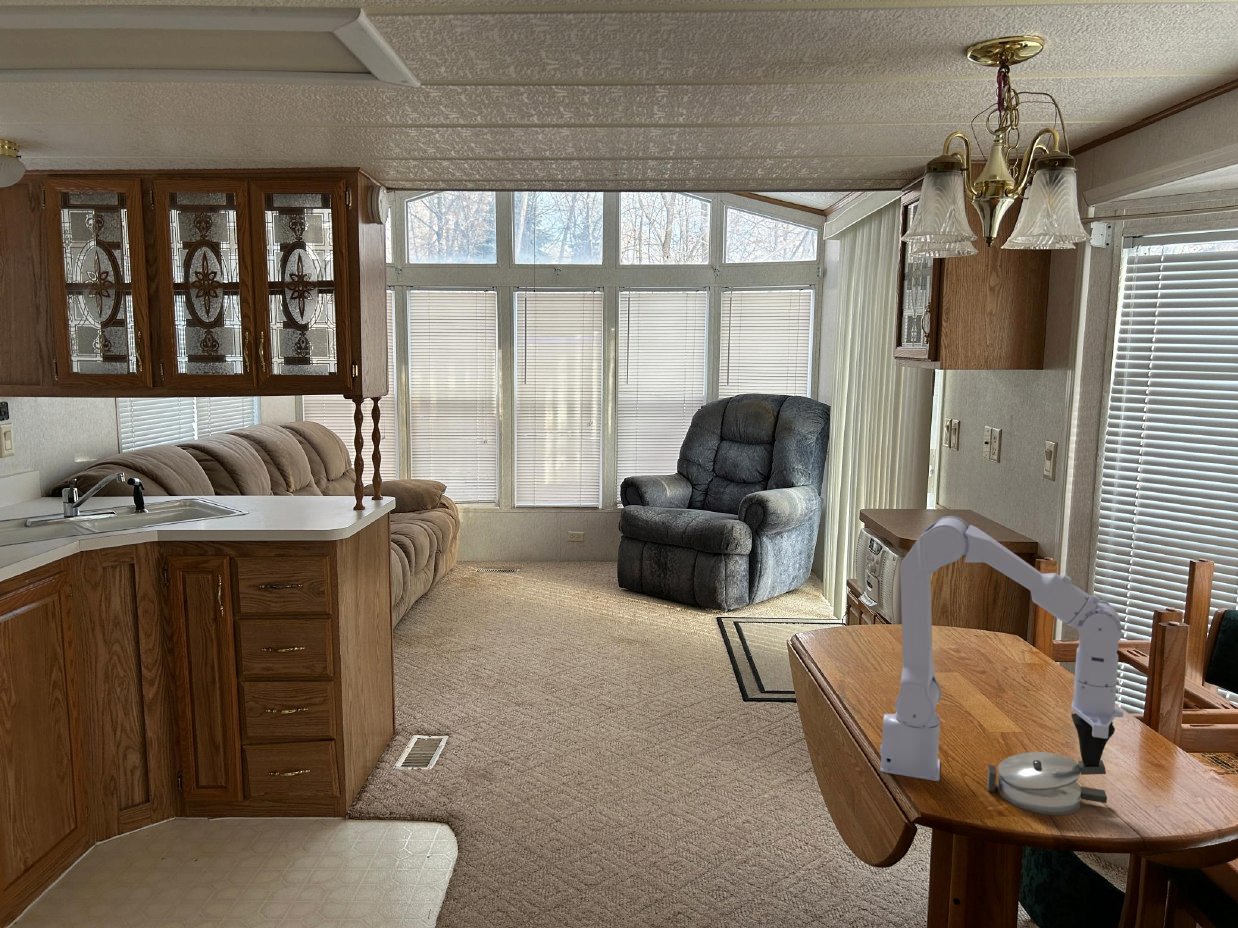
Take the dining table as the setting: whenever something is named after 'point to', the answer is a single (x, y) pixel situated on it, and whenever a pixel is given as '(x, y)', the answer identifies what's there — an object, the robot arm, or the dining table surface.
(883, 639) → the dining table surface
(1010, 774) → the lid
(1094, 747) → the robot arm
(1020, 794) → the pot
